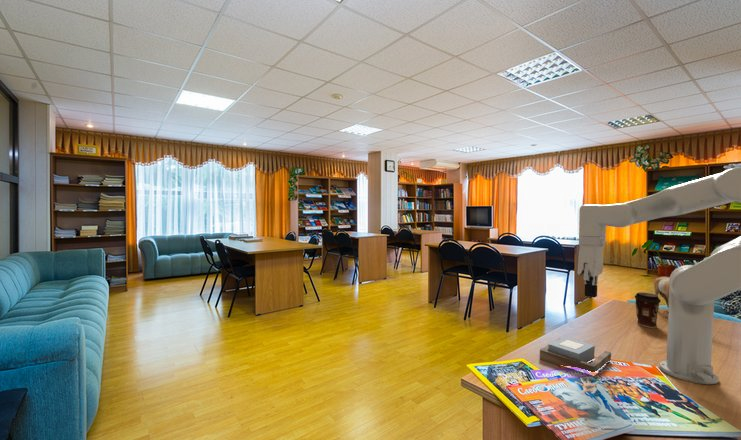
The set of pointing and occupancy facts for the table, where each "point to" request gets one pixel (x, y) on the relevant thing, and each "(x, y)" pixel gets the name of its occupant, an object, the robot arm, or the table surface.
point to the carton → (573, 349)
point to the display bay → (574, 360)
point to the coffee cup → (647, 309)
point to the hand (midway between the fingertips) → (590, 296)
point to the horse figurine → (662, 288)
